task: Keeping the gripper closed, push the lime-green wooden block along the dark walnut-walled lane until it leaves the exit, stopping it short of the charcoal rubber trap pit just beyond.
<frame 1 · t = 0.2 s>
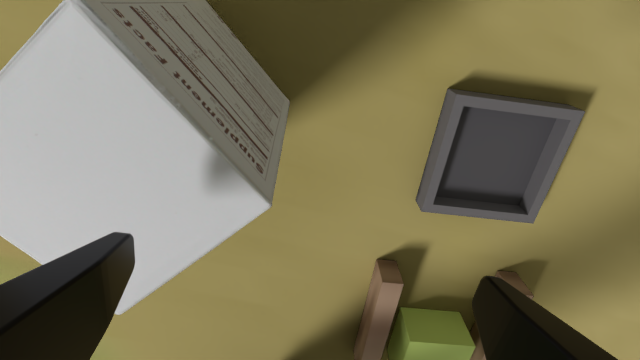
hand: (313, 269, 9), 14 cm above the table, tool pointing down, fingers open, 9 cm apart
trap pit: (487, 155, 24), on the table
lane rails: (429, 313, 30), on the table
lime block: (421, 329, 31), on the table
supplement box: (207, 90, 22), on the table
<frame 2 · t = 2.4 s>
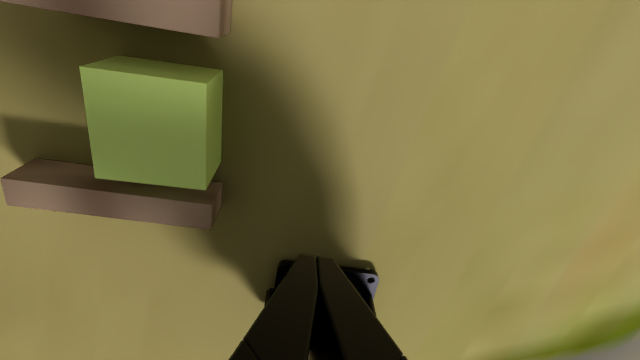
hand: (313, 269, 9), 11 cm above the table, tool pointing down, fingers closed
lane rails: (126, 99, 19), on the table
lime block: (174, 111, 19), on the table
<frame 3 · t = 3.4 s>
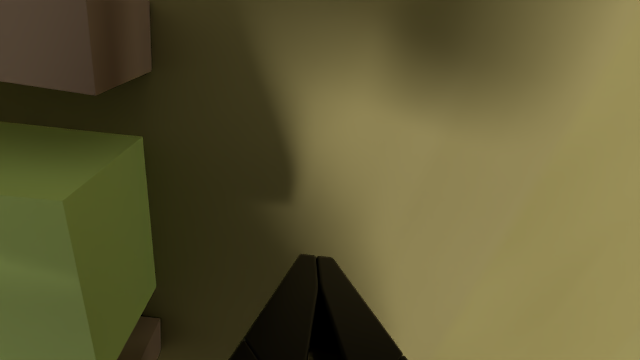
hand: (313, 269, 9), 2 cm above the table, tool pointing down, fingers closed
lime block: (62, 208, 10), on the table
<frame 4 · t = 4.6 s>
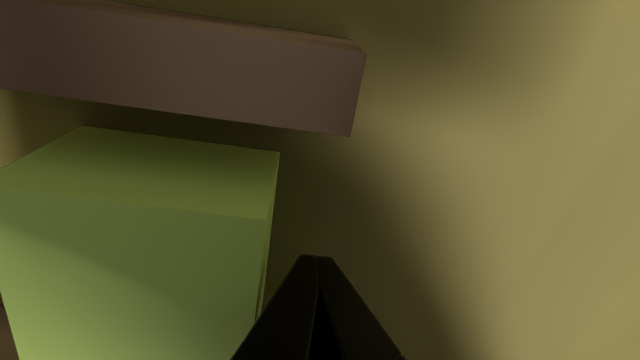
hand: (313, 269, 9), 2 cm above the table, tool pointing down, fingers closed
lane rails: (141, 216, 10), on the table
lime block: (185, 218, 11), on the table, touching gripper
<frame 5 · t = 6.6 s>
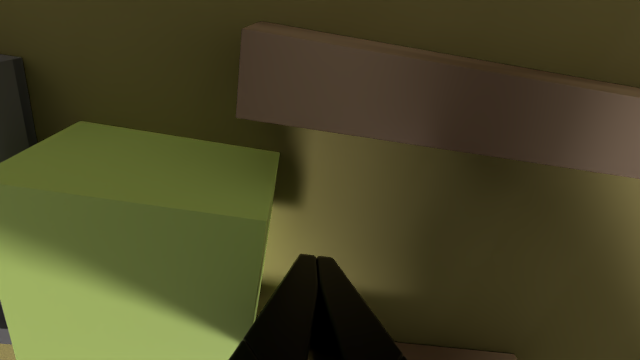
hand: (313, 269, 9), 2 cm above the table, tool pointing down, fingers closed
lane rails: (410, 247, 11), on the table
lime block: (183, 215, 11), on the table
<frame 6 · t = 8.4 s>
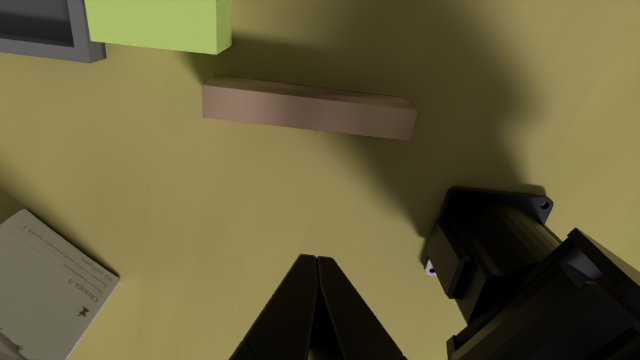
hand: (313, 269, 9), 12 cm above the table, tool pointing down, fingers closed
lane rails: (322, 2, 17), on the table
supplement box: (45, 269, 24), on the table
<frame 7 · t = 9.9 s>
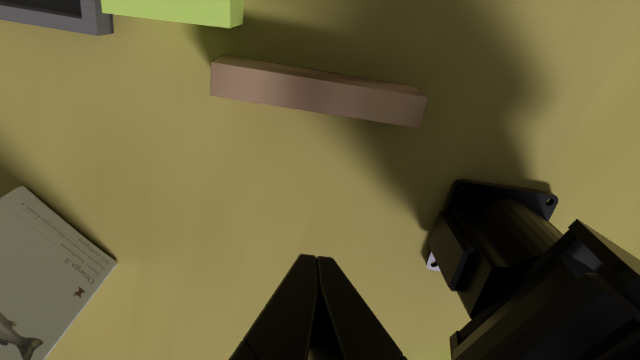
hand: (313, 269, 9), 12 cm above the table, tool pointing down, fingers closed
supplement box: (41, 249, 24), on the table
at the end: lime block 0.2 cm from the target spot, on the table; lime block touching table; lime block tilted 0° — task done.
